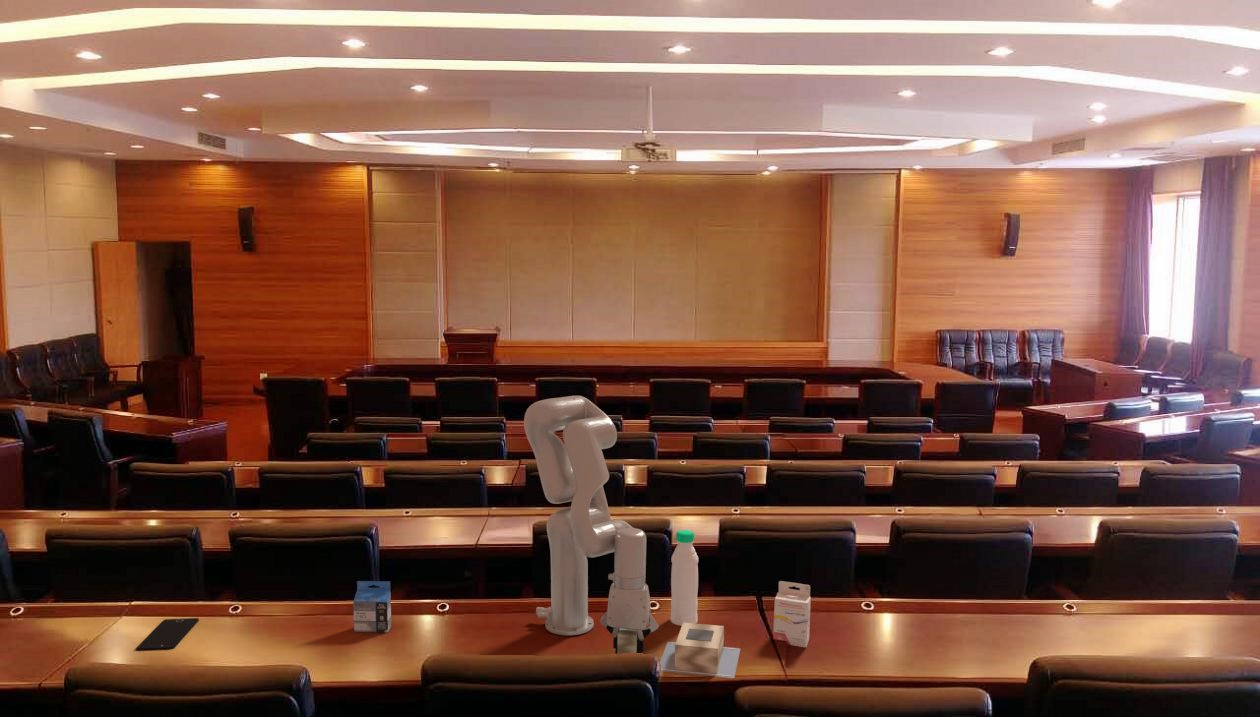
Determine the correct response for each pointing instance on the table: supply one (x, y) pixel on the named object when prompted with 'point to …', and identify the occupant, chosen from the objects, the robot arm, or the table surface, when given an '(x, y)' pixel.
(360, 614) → the label tape cartridge
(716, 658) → the plinth
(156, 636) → the cell phone
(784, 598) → the ink cartridge box
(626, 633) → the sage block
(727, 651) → the board
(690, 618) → the water bottle
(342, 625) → the table surface
